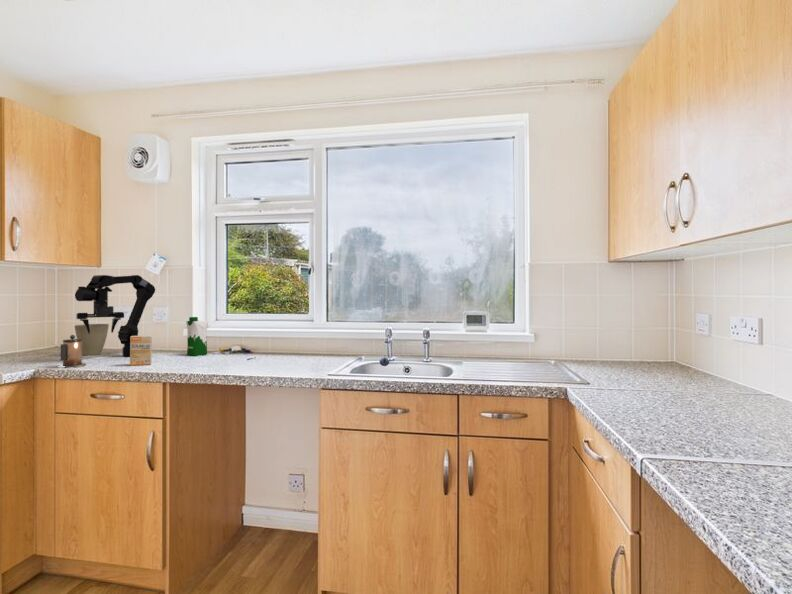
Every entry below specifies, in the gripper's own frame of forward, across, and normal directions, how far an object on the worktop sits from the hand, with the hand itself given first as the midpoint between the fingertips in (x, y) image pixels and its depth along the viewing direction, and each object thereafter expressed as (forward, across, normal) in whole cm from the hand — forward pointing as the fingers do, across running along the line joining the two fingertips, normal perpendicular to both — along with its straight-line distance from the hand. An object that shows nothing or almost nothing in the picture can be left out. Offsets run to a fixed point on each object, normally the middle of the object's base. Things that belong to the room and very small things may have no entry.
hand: (100, 333), depth 210 cm
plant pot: (+13, -1, +27) cm, 30 cm away
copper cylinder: (+12, -12, -13) cm, 22 cm away
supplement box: (+13, +12, -29) cm, 34 cm away
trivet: (+13, -12, -14) cm, 22 cm away
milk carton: (+13, +41, -11) cm, 44 cm away
